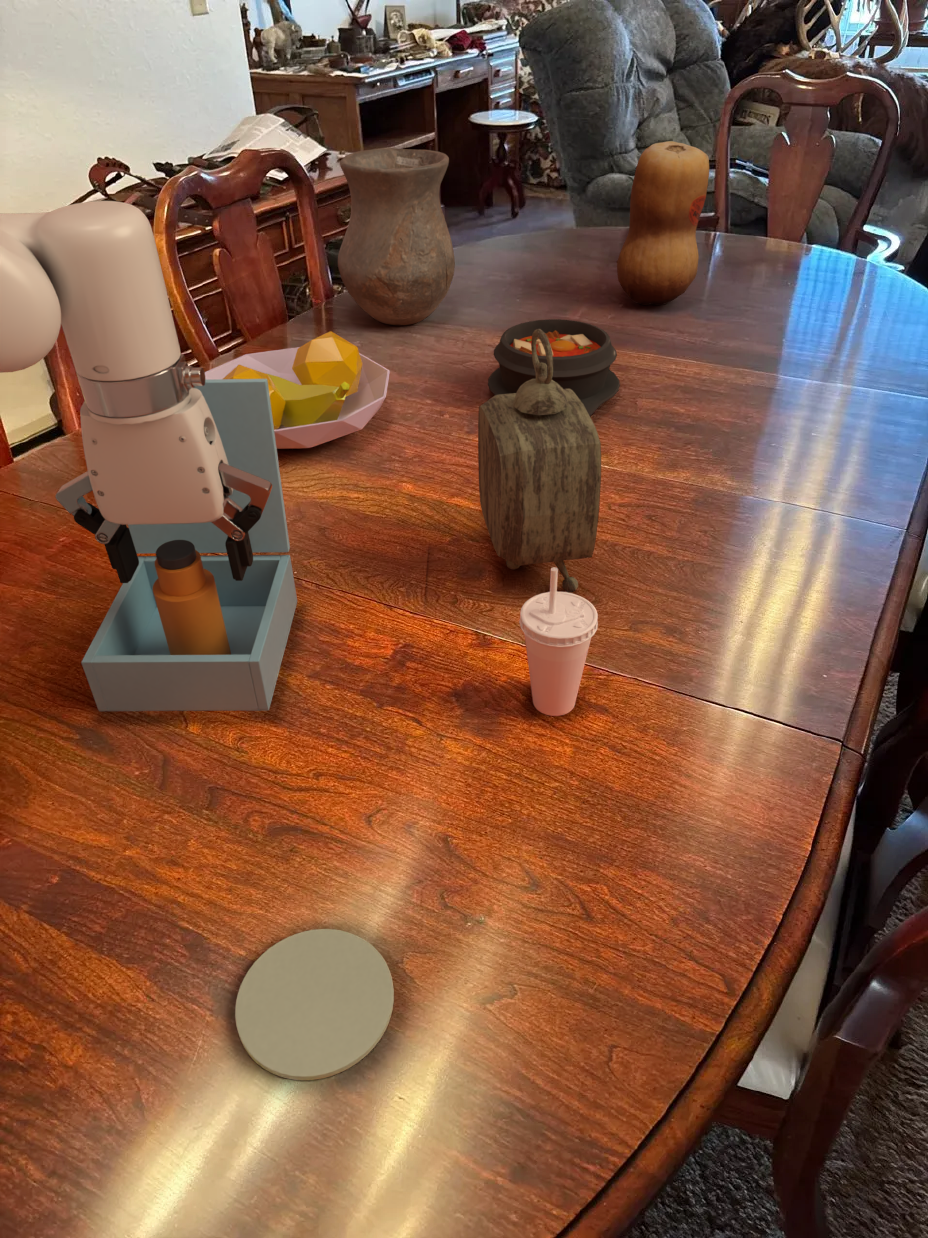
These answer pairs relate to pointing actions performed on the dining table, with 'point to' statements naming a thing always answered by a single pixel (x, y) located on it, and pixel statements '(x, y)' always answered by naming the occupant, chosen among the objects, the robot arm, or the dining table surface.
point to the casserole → (558, 360)
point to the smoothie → (557, 645)
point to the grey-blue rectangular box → (156, 681)
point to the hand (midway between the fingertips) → (186, 572)
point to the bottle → (188, 602)
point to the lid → (247, 448)
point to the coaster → (314, 1004)
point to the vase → (396, 234)
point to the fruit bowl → (314, 389)
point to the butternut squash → (663, 223)
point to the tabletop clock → (539, 472)
